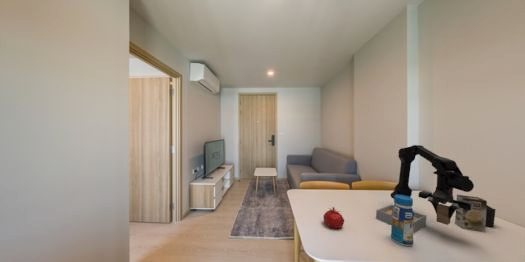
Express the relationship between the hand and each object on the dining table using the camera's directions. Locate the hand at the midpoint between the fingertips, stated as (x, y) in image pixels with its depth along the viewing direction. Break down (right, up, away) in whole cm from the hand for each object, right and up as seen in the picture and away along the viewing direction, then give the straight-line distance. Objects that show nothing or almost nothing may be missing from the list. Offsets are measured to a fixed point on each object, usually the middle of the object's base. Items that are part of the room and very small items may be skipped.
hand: (443, 216), depth 92 cm
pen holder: (+33, -10, +12) cm, 37 cm away
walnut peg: (0, -3, 0) cm, 3 cm away
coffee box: (+21, -9, +7) cm, 24 cm away
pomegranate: (-52, -7, +5) cm, 53 cm away
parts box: (-13, -8, +11) cm, 19 cm away
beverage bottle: (-26, -8, -7) cm, 28 cm away
